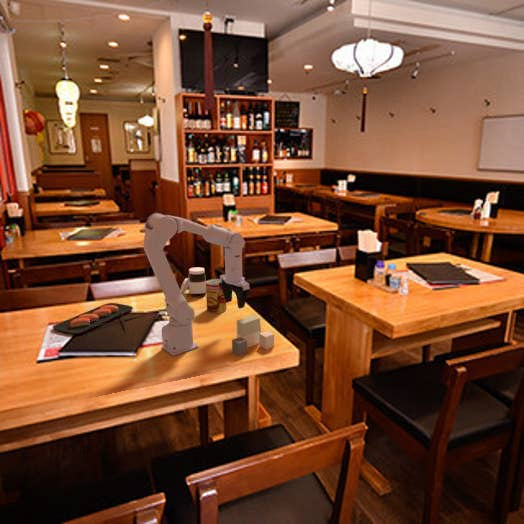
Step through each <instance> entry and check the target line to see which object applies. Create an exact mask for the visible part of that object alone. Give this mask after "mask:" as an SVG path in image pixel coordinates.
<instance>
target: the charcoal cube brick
mask: <svg viewBox="0 0 524 524" xmlns="http://www.w3.org/2000/svg"><path fill="white" fill-rule="evenodd" d="M231 348H232V349H231V350H232V354H234V355H236V356H238V357H241V356H243V355H246V354H248V348H247V340H245V339H244V338H242V337H239V338H237V337H236V338H234V339H231Z"/></svg>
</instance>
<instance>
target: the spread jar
mask: <svg viewBox="0 0 524 524" xmlns="http://www.w3.org/2000/svg"><path fill="white" fill-rule="evenodd" d="M206 281H207V277H206V274H205V268H204V267H199V266H197V267H191V268H189V269H188V277H186V278H185V279H184V280H183V281H182V284H181V286H180V291H181V294H182V293H183V294H185V293H186V291H187V289H188V293H189V295H190V296H191V297H196V298H197V297H203V296H205V295H206Z"/></svg>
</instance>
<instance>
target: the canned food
mask: <svg viewBox="0 0 524 524" xmlns="http://www.w3.org/2000/svg"><path fill="white" fill-rule="evenodd" d="M219 283H222V281H220V278H211V279H208V280H206V294H205V295H206V311H207V312H208V313H210V314H222V313H224V312H226V311H227V308H228V307H227V303H226V301H225V298H224V295H223V292H222V290H221V288H220V286H219Z"/></svg>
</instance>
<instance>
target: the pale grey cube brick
mask: <svg viewBox="0 0 524 524" xmlns="http://www.w3.org/2000/svg"><path fill="white" fill-rule="evenodd" d="M259 340H260V343H259V347H261V348H262V349H265V350H269V349H271V348H274V347H275V334H274V333H272V332H271V331H268V330H266V331H263V332H261V333H260V334H259Z"/></svg>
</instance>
